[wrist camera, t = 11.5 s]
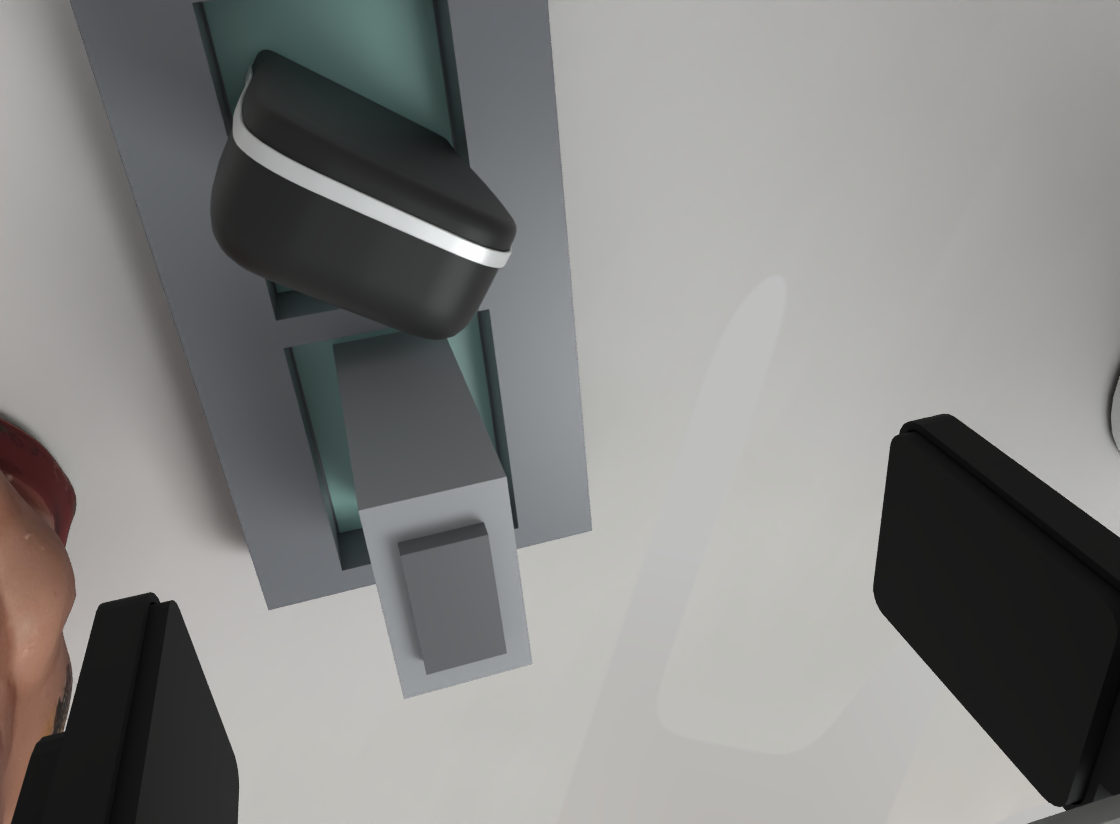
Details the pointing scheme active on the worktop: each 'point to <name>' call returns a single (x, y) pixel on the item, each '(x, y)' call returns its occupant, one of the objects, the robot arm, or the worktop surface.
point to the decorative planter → (31, 604)
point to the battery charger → (355, 204)
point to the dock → (357, 342)
